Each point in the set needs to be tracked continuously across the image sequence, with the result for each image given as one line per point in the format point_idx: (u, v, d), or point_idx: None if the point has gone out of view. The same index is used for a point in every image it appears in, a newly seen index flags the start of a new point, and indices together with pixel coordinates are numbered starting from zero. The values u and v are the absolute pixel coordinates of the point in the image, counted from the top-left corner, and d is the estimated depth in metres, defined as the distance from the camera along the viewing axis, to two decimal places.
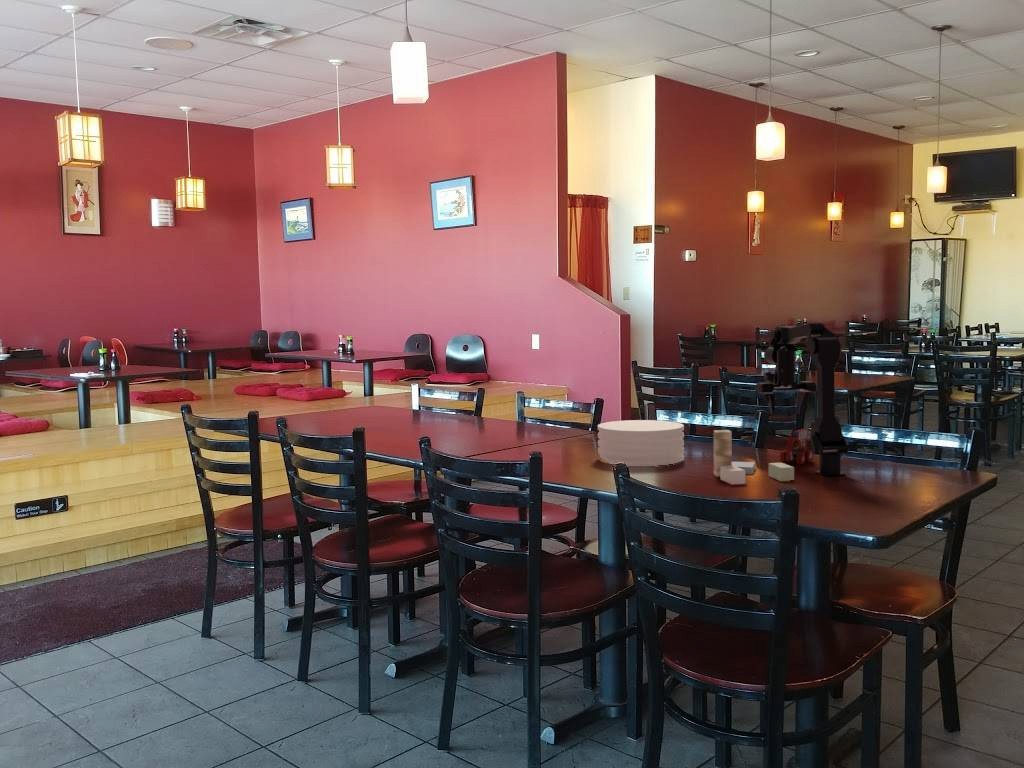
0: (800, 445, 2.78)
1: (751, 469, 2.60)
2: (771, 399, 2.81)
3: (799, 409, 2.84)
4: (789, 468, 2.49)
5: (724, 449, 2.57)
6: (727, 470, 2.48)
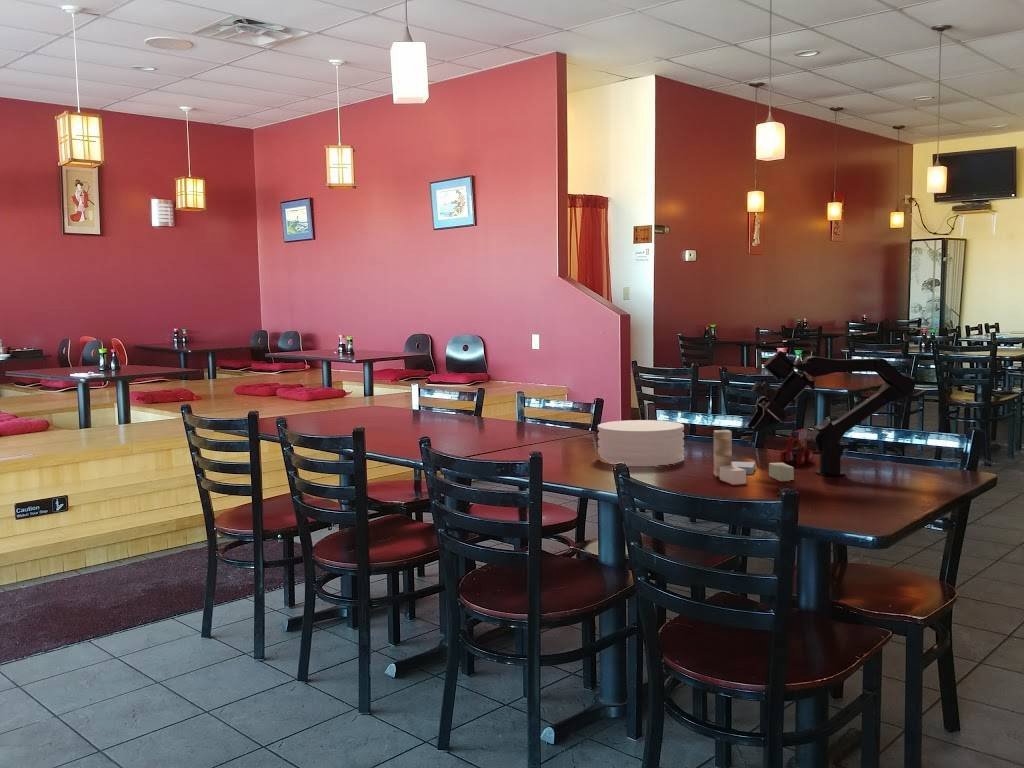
0: (800, 445, 2.78)
1: (751, 469, 2.60)
2: None
3: (752, 425, 2.63)
4: (788, 468, 2.49)
5: (724, 449, 2.57)
6: (727, 470, 2.48)
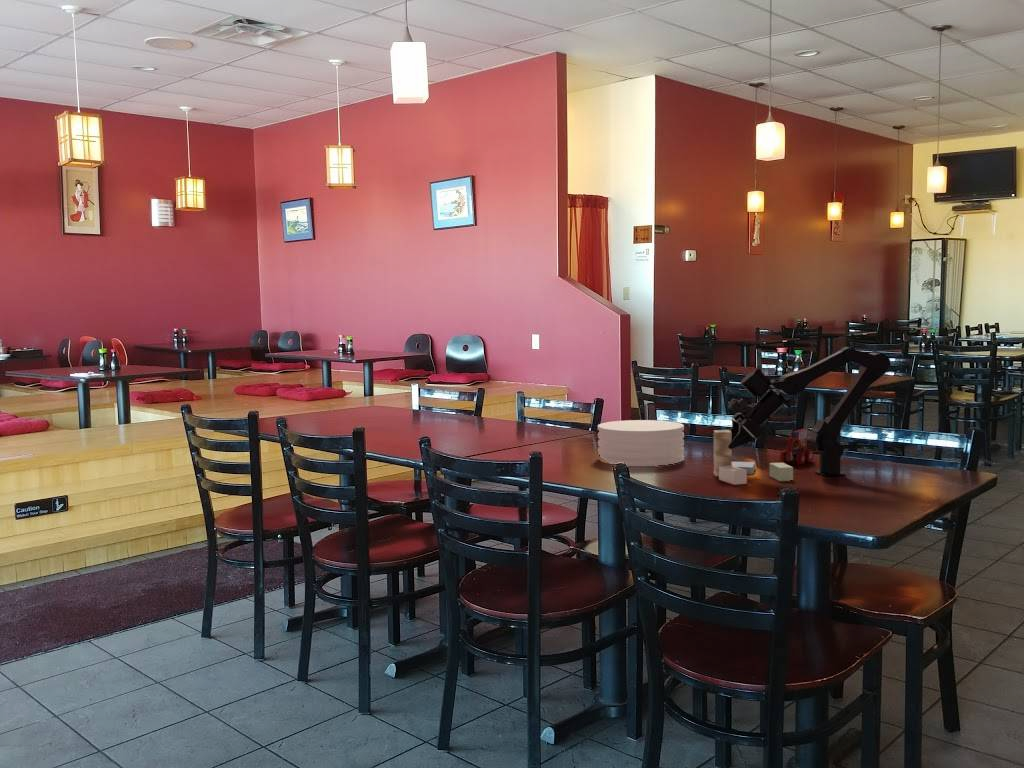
0: (800, 445, 2.78)
1: (751, 469, 2.60)
2: None
3: None
4: (788, 468, 2.49)
5: (724, 449, 2.57)
6: (728, 470, 2.48)
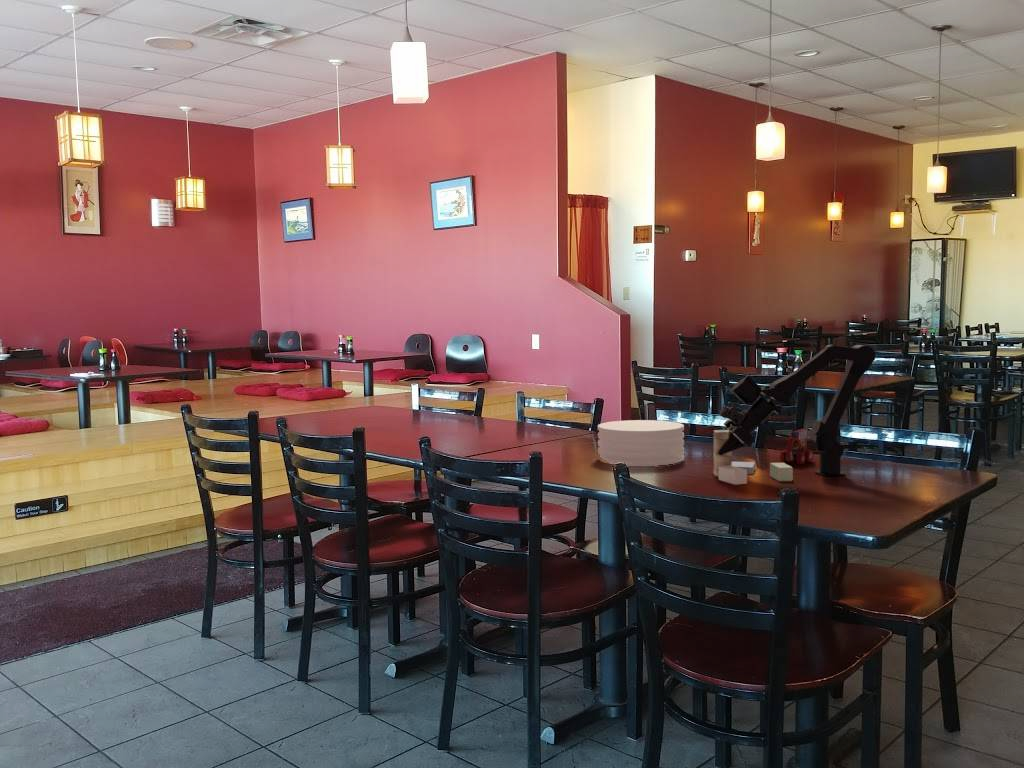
0: (800, 445, 2.78)
1: (751, 469, 2.60)
2: None
3: None
4: (787, 468, 2.49)
5: None
6: (728, 470, 2.48)
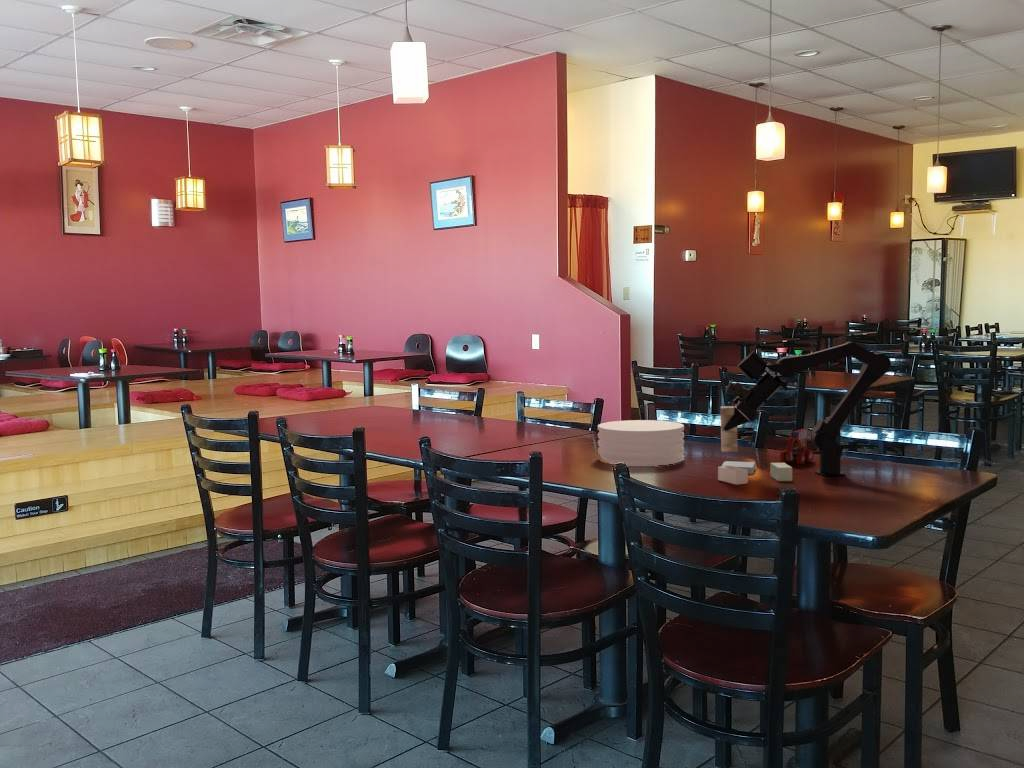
0: (800, 445, 2.78)
1: (751, 469, 2.60)
2: (743, 423, 2.57)
3: None
4: (787, 468, 2.49)
5: None
6: (729, 470, 2.48)
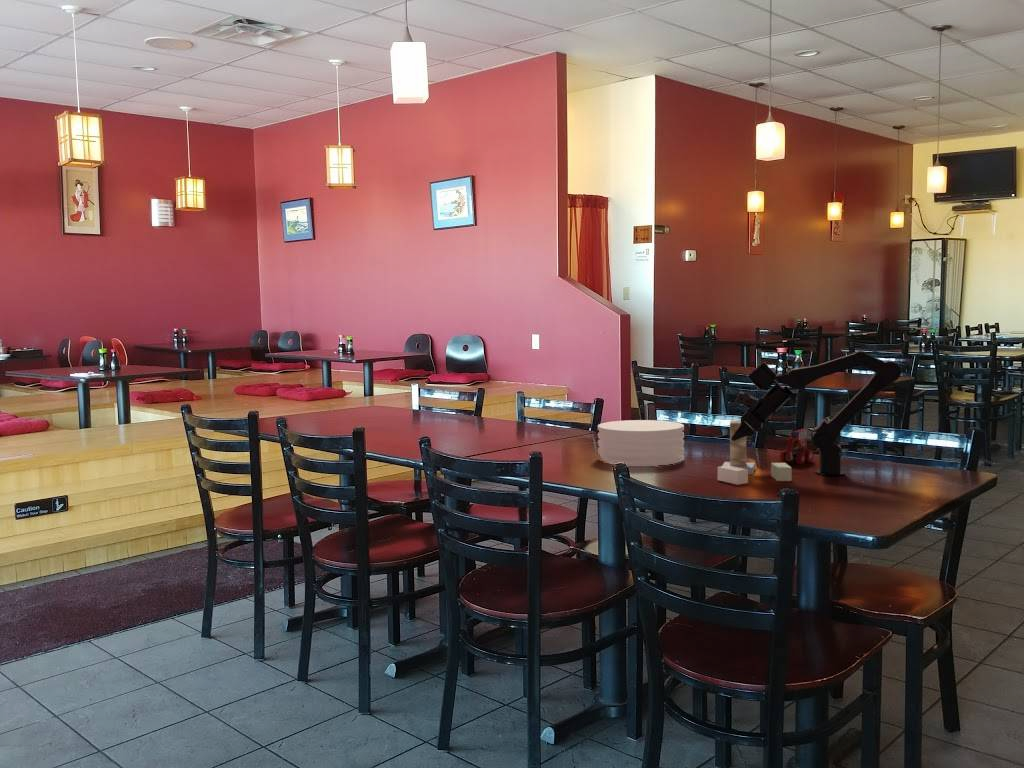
0: (800, 445, 2.78)
1: (751, 470, 2.60)
2: (749, 434, 2.58)
3: None
4: (786, 468, 2.49)
5: (738, 439, 2.63)
6: (729, 470, 2.48)
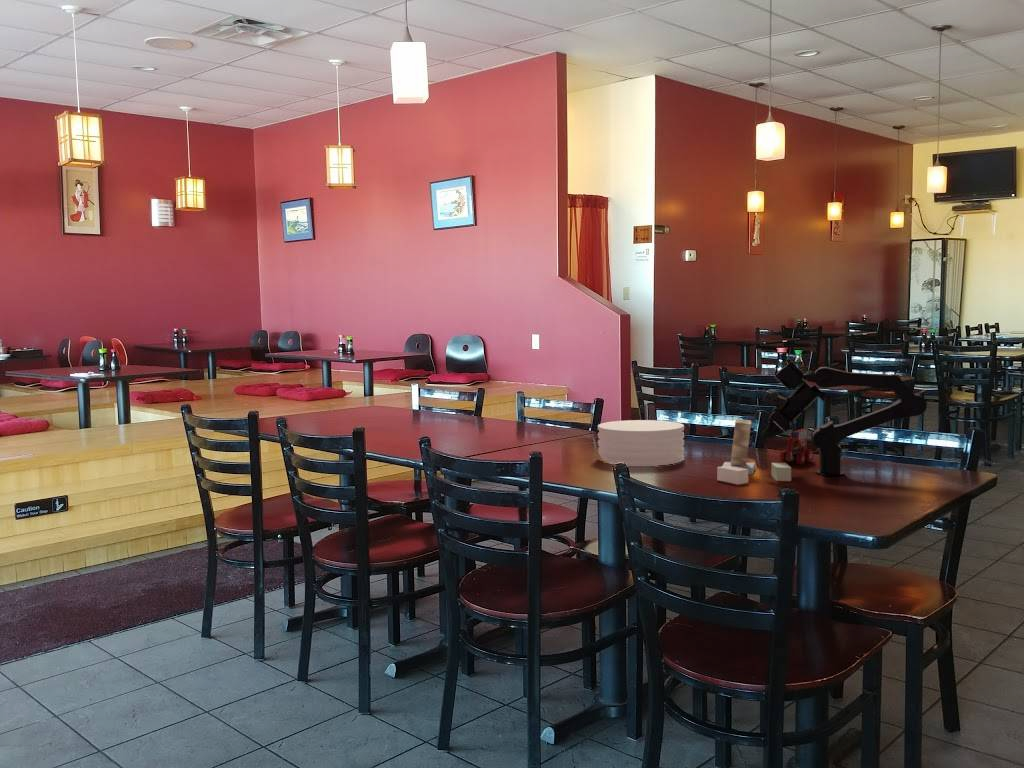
0: (800, 445, 2.78)
1: (751, 470, 2.60)
2: None
3: None
4: (786, 468, 2.49)
5: (741, 439, 2.62)
6: (730, 470, 2.48)
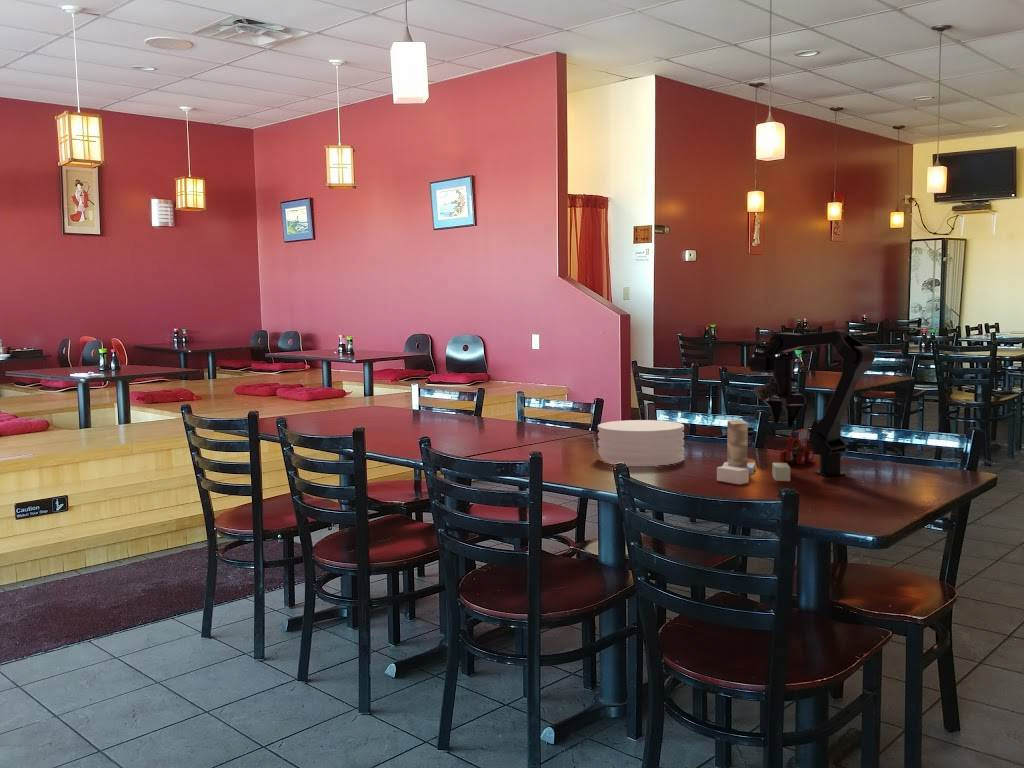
0: (800, 445, 2.78)
1: (751, 470, 2.60)
2: None
3: (777, 419, 2.73)
4: (785, 468, 2.49)
5: (740, 440, 2.62)
6: (731, 470, 2.48)
